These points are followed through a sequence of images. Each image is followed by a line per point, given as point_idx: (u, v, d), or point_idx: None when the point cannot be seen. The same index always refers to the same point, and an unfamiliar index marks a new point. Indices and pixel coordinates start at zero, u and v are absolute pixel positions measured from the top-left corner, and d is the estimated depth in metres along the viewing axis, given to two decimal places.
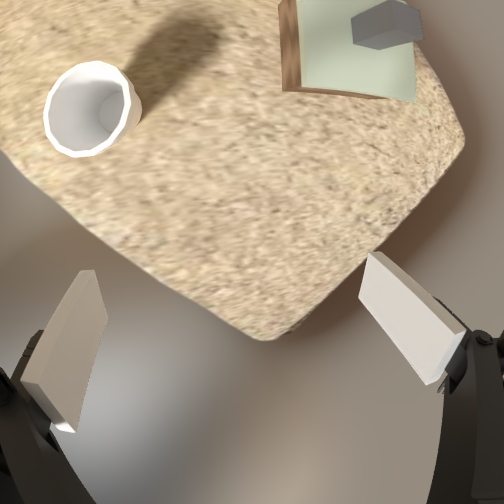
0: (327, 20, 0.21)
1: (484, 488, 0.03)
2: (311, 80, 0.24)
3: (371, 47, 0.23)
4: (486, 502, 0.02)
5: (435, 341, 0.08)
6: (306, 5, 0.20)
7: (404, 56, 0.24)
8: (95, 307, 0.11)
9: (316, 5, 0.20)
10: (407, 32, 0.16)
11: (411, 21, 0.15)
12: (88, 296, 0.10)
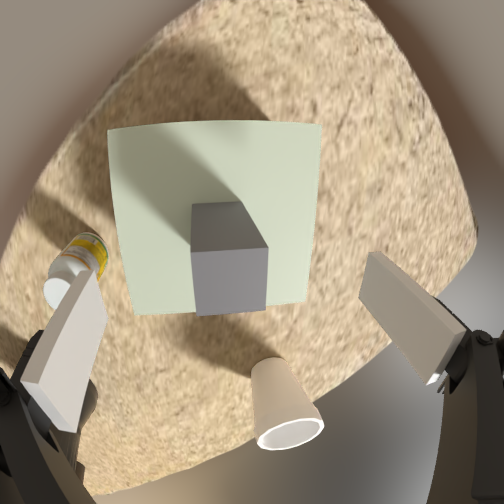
0: None
1: (485, 487, 0.03)
2: (299, 297, 0.25)
3: None
4: (487, 502, 0.02)
5: (435, 341, 0.08)
6: (191, 307, 0.23)
7: (239, 145, 0.18)
8: (95, 307, 0.11)
9: (187, 296, 0.22)
10: (265, 287, 0.14)
11: (234, 277, 0.13)
12: (88, 296, 0.10)
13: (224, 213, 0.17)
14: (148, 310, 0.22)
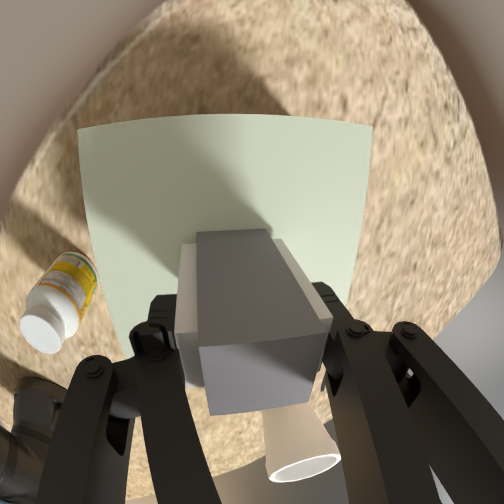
0: None
1: None
2: None
3: None
4: None
5: None
6: None
7: (264, 150, 0.13)
8: None
9: None
10: (313, 379, 0.08)
11: (269, 373, 0.08)
12: None
13: (245, 252, 0.12)
14: None
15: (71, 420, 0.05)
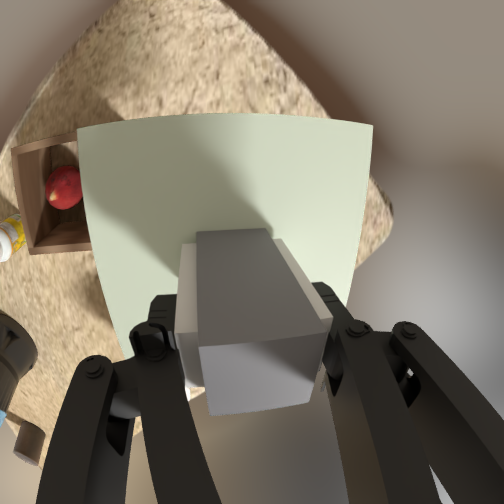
0: None
1: None
2: None
3: None
4: None
5: None
6: None
7: (264, 149, 0.13)
8: None
9: None
10: (313, 379, 0.08)
11: (269, 373, 0.08)
12: None
13: (245, 252, 0.12)
14: None
15: (71, 420, 0.05)
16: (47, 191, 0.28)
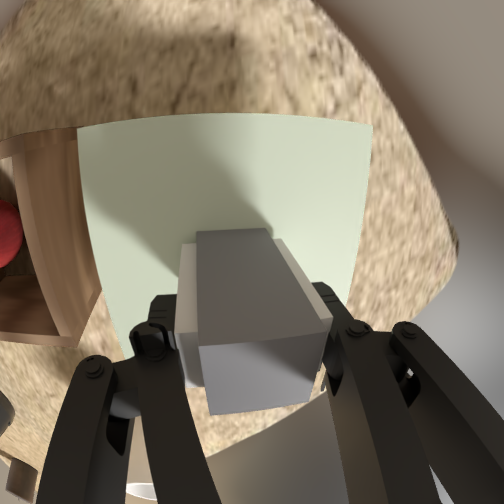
0: None
1: None
2: None
3: None
4: None
5: None
6: None
7: (264, 149, 0.13)
8: None
9: None
10: (313, 379, 0.08)
11: (269, 372, 0.08)
12: None
13: (245, 251, 0.12)
14: None
15: (71, 420, 0.05)
16: None
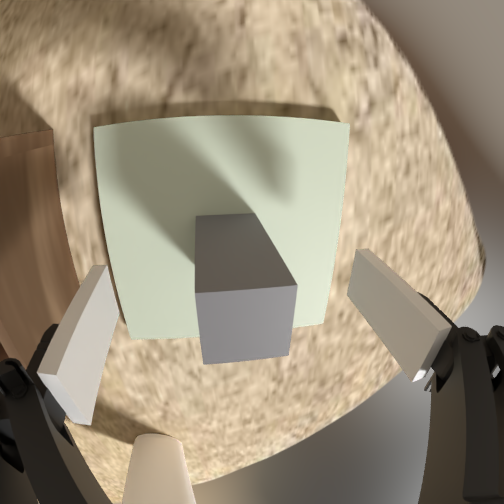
0: None
1: (476, 489, 0.03)
2: (317, 319, 0.21)
3: None
4: (479, 503, 0.02)
5: (420, 337, 0.09)
6: (195, 331, 0.20)
7: (253, 145, 0.15)
8: (108, 301, 0.11)
9: (191, 320, 0.19)
10: (290, 331, 0.11)
11: (251, 321, 0.10)
12: (102, 290, 0.11)
13: (235, 230, 0.14)
14: (146, 335, 0.19)
15: None
16: None
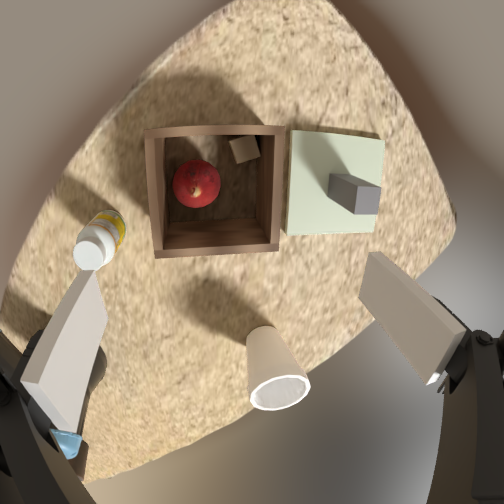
0: (331, 216, 0.41)
1: (484, 488, 0.03)
2: (370, 229, 0.43)
3: None
4: (487, 502, 0.02)
5: (435, 341, 0.08)
6: (319, 230, 0.41)
7: (351, 147, 0.37)
8: (95, 307, 0.11)
9: (319, 223, 0.41)
10: (378, 204, 0.32)
11: (369, 198, 0.32)
12: (88, 296, 0.10)
13: (350, 177, 0.36)
14: (295, 232, 0.41)
15: None
16: (184, 186, 0.30)
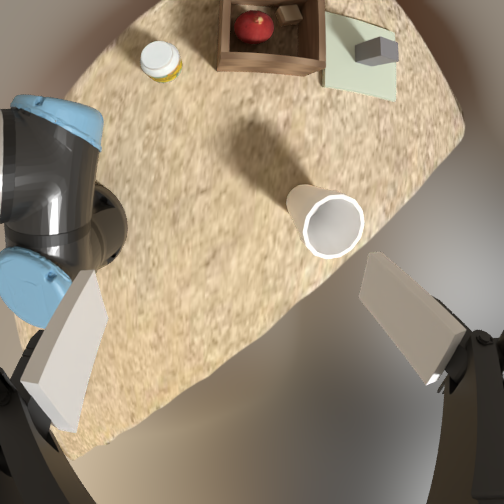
0: (359, 78, 0.39)
1: (484, 488, 0.03)
2: (393, 98, 0.41)
3: None
4: (487, 502, 0.02)
5: (435, 341, 0.08)
6: (351, 88, 0.40)
7: (369, 31, 0.35)
8: (95, 307, 0.11)
9: (350, 82, 0.39)
10: None
11: (390, 47, 0.30)
12: (88, 296, 0.10)
13: None
14: (332, 85, 0.39)
15: None
16: (248, 18, 0.28)
